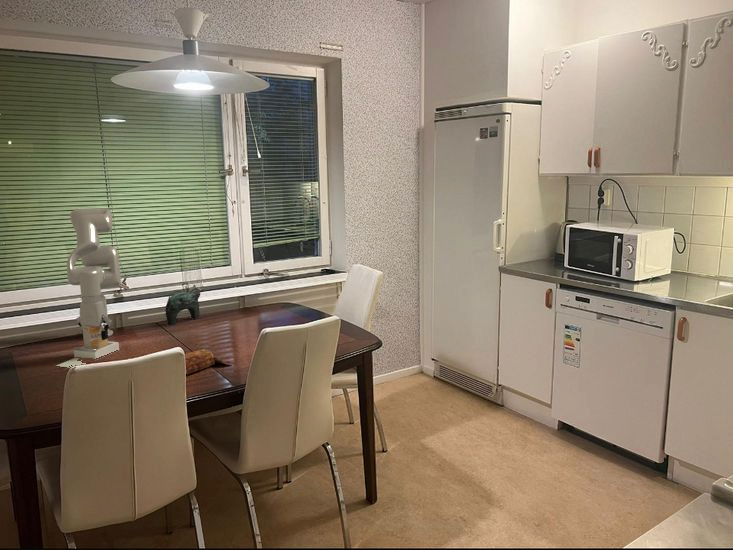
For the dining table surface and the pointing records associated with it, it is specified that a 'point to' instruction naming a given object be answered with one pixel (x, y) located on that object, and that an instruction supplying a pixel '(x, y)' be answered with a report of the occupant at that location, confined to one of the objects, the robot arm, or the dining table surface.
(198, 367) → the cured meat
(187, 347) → the dining table surface
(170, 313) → the green horse figurine
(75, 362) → the mat
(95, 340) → the supplement box
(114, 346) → the white shallow tray
